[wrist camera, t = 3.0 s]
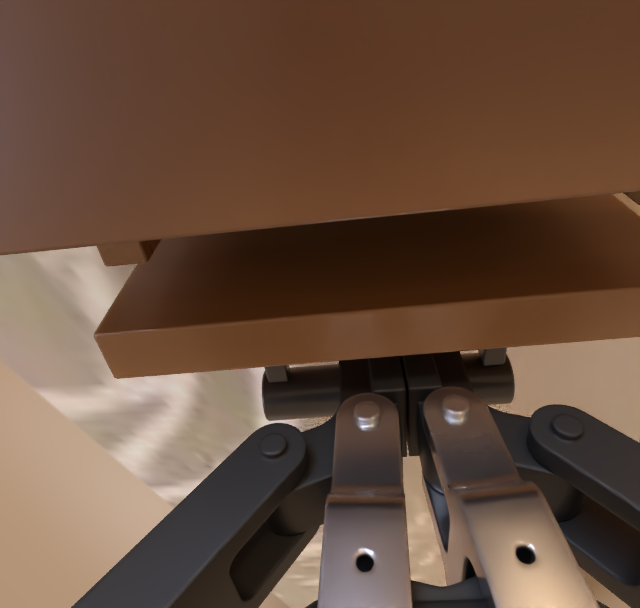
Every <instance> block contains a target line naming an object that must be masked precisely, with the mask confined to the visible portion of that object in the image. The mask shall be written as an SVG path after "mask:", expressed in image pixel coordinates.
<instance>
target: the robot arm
mask: <svg viewBox="0 0 640 608" xmlns="http://www.w3.org/2000/svg"><path fill="white" fill-rule="evenodd" d="M339 378H340V404H339V407H338V409H337V411H336V413H335V414H334V415H333V417H332V418H331V419H329V420H328V421H327V422H325V423H324V424H322V425H320V426H318V427H315V428H313V429H310V430H307V431H304V432H300V430H298V429H297V428H296V427H294V426H292V425H289V424H284V423H274V424H269V425H266V426H264V427H261V428H259V429H258V430H256V431H255V432H254V433H252V434H251V435H250V436H249V437H248V438H247V439H246V440H245V441H244V442H243V443H242V444H241V445H240V446H239V447H238V448H237V449H236V450H235V451H234V452H233V453H232V454H230V455H229V456H228V457H227V458H226V459H225V460H224V461H223V462H222V463H221V464H220V465H219V466H218V467H217V468H216V469H215V470H214V471H213V472H212V473H211V474H210V475H209V476H208V477H207V478H206V479H204V480H203V481H202V482H201V483H200V484H199V485H198V486H197V487H196V488H195V489H194V490H193V491H192V492H191V493H190V494H189V495H188V496H187V497H186V498H185V499H184V500H183V501H182V502H181V503H179V504H178V505H177V506H176V507H175V508H174V509H173V510H172V511H171V512H170V513H169V514H168V515H167V516H166V517H165V518H164V519H163V520H162V521H161V522H160V523H159V524H158V525H157V526H156V527H155V528H153V529H152V530H151V531H150V532H149V533H148V534H147V535H146V536H145V537H144V538H143V539H142V540H141V541H140V542H139V543H138V544H137V545H136V546H135V547H134V548H133V549H132V550H131V551H130V552H129V553H127V555H125V557H123V558H122V559H121V560H120V561H119V562H118V563H117V564H116V565H115V566H114V567H113V568H112V569H111V570H110V571H109V572H108V573H107V574H106V575H105V576H104V577H103V578H101V579H100V580H99V581H98V582H97V583H96V584H95V585H94V586H93V587H92V588H91V589H90V590H89V591H88V592H87V593H86V594H85V595H84V596H83V597H82V598H81V599H80V600H79V601H78V602H77V603H75V604H74V606H72V607H71V608H258V607H259V606H260V605H261V604H262V602H263V601H264V600H265V598H266V597H267V596H268V595H269V593H270V592H271V591H272V589H273V588H274V587H275V586H276V584H277V583H278V582H279V580H280V579H281V578H282V577H283V575H284V574H285V573H286V571H287V570H288V569H289V568H290V566H291V565H292V564H293V562H294V561H295V560H296V559H297V557H298V556H299V555H300V553H301V552H302V551H303V550H304V548H305V547H306V546H307V544H308V543H309V542H310V541H311V539H312V538H313V537H314V535H315V534H316V532H317V531H318V529H319V526H320V525H322V524H324V529H323V542H322V554H321V567H320V580H319V593H318V600H316V601H314V602H313V603H311V604H310V605H308V606H307V607H305V608H609V607H607V606H606V605H604V604H602V603H601V602H599V601H597V600H596V598H595V596H594V594H593V592H592V591H591V588H590V586H589V584H588V582H587V580H586V578H585V577H584V575H583V573H582V571H581V569H580V567H581V568H582V569H584V570H585V571H586V572H587V573H589V574H590V575H591V576H593V578H595V579H596V580H597V581H598V582H600V583H601V584H602V585H604V586H605V587H606V588H607V589H608V590H610V591H611V592H612V593H614V594H615V595H616V596H617V597H619V598H620V599H621V600H622V601H624V602H625V603H626V604H628V605H629V606H630V607H631V608H640V443H639V442H637V441H635V440H633V439H631V438H630V437H628V436H626V435H624V434H623V433H621V432H619V431H617V430H616V429H614V428H612V427H610V426H608V425H607V424H605V423H603V422H601V421H600V420H598V419H596V418H594V417H593V416H591V415H589V414H587V413H585V412H583V411H581V410H579V409H577V408H574V407H571V406H567V405H555V404H554V405H547V406H544V407H541V408H539V409H538V410H536V411H535V412H534V413H533V415H532V417H531V418H530V417H525V416H519V415H514V414H509V413H504V412H501V411H498V410H496V409H493V408H491V407H490V406H488V405H486V403H485V401H484V400H483V399H482V398H481V397H480V396H479V395H477V394H476V393H475V392H474V390H473V388H472V385H471V383H470V380H469V377H468V374H467V371H466V368H465V365H464V363H463V360H462V357H461V354H460V351H455V352H443V353H431V354H418V355H406V356H393V357H381V358H368V359H356V360H343V361H339ZM407 445H408V450H409V456H420V461H421V466H422V485H423V490H424V493H425V497H426V500H427V504H428V508H429V511H430V515H431V519H432V522H433V526H434V530H435V533H436V537H437V540H438V544H439V548H440V551H441V555H442V559H443V563H444V569H445V577H446V584H447V586H445V587H439V586H434V585H429V584H425V583H421V582H416V581H412V580H411V578H410V564H409V549H408V535H407V520H406V506H405V495H404V489H403V457H407Z"/></svg>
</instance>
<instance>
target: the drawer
mask: <svg viewBox="0 0 640 608" xmlns="http://www.w3.org/2000/svg"><path fill="white" fill-rule="evenodd" d="M624 194H625V195H627V196H628V197H629V198H631V199H632V200H633V201H635V202H636V203H637V204H638V205H640V191H635V192H625V193H624ZM97 248H98V250H99V253H100V255H101V257H102V259H103V262H104V264H105V265H106V266H117V265H127V264H137V265H136V267H135V268H134V270H133V271H132V273H131V275H130V276H129V278H128V280H127V281H126V283H125V284H124V286H123V288H122V289H121V291H120V292H119V294H118V296H117V297H116V299H115V300H114V302H113V304H112V305H111V307H110V309H109V310H108V312H107V313H106V315H105V317H104V318H103V320H102V321H101V323H100V325H99V326H98V328H97V330H96V331H95V333H94V338H95V340H96V342H97V344H98V346H99V348H100V350H101V352H102V354H103V356H104V358H105V360H106V362H107V364H108V366H109V368H110V370H111V372H112V374H113V376H114V377H115V378H117V379H119V378H132V377H144V376H157V375H169V374H181V373H194V372H206V371H219V370H231V369H244V368H256V367H265V372H264V374H263V379H262V401H263V408H264V413H265V416H266V418H267V420H269V421H273V420H287V419H301V418H315V417H329V416H333V415H334V414H335V413H336V411H337V409H338V407H339V404H340V378H339V364H332V365H320V366H307V367H295V368H290V367H289V365H294V364H306V363H318V362H331V361H343V360H356V359H368V358H381V357H393V356H406V355H418V354H431V353H443V352H455V351H468V350H478V353H470V354H461V357H462V360H463V363H464V365H465V368H466V371H467V374H468V377H469V380H470V383H471V385H472V388H473V390H474V392H475V393H476V394H477V395H479V396H480V397H481V398H482V399H483V400H484V401H485V403H486V405H495V404H508V403H511V402H512V400H513V398H514V391H515V383H514V374H513V369H512V366H511V363H510V360H509V358H508V356H507V354H506V351H507V347H518V346H530V345H543V344H555V343H568V342H580V341H592V340H605V339H617V338H630V337H640V216H639V215H637V214H636V213H635V212H633V211H632V210H631V209H630V208H628V207H627V206H626V205H625V204H623V203H622V202H621V201H620V200H618V199H617V198H616V197H615V196H613V195H612V194H605V195H595V196H585V197H575V198H565V199H555V200H545V201H535V202H526V203H516V204H506V205H496V206H486V207H476V208H466V209H456V210H446V211H436V212H426V213H416V214H406V215H396V216H386V217H376V218H366V219H356V220H346V221H336V222H327V223H317V224H307V225H297V226H287V227H277V228H267V229H257V230H247V231H237V232H227V233H217V234H207V235H197V236H187V237H177V238H167V239H157V240H147V241H137V242H128V243H118V244H108V245H98V246H97Z"/></svg>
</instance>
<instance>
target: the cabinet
mask: <svg viewBox="0 0 640 608" xmlns="http://www.w3.org/2000/svg"><path fill="white" fill-rule="evenodd" d="M635 191H640V0H0V255H8V254H18V253H28V252H38V251H48V250H58V249H68V248H78V247H88V246H98V245H108V244H118V243H128V242H137V241H147V240H157V239H167V238H177V237H187V236H197V235H207V234H217V233H227V232H237V231H247V230H257V229H267V228H277V227H287V226H297V225H307V224H317V223H327V222H336V221H346V220H356V219H366V218H376V217H386V216H396V215H406V214H416V213H426V212H436V211H446V210H456V209H466V208H476V207H486V206H496V205H506V204H516V203H526V202H535V201H545V200H555V199H565V198H575V197H585V196H595V195H605V194H615V193H625V192H635Z"/></svg>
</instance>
